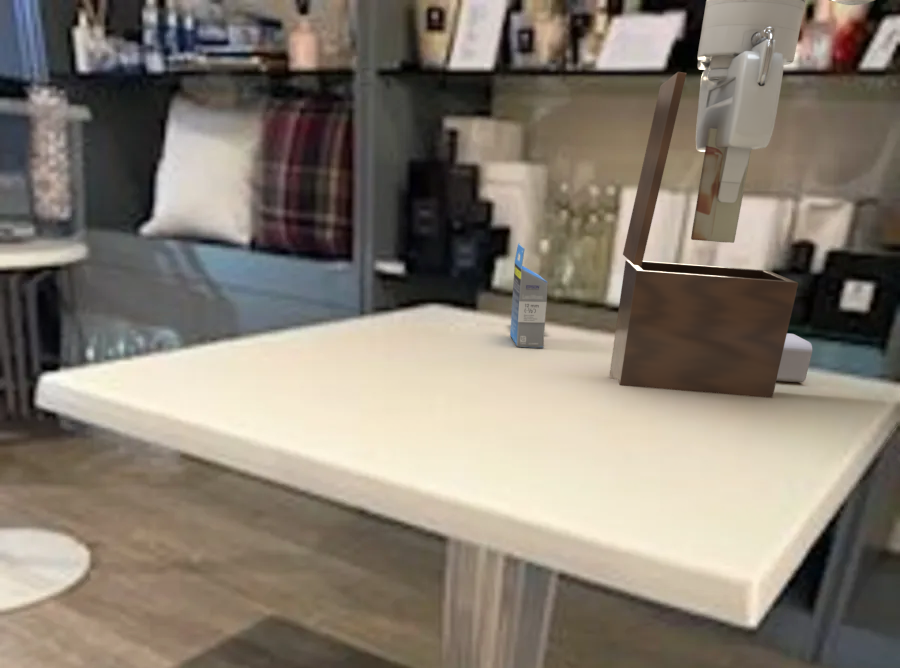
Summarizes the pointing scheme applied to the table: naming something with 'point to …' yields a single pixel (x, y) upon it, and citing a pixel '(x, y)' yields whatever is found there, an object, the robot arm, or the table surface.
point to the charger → (794, 359)
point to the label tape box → (528, 305)
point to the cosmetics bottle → (710, 214)
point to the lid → (653, 167)
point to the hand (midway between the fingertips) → (718, 201)
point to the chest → (701, 328)
